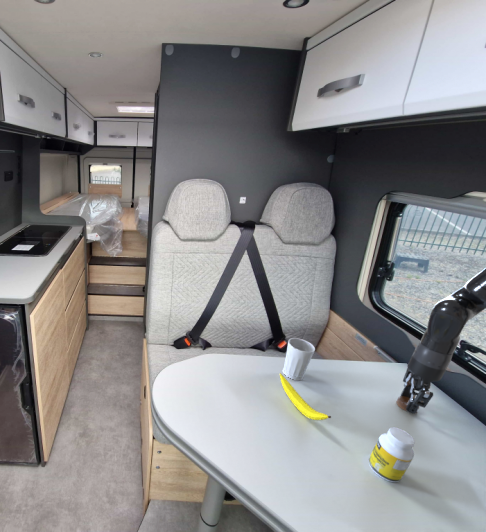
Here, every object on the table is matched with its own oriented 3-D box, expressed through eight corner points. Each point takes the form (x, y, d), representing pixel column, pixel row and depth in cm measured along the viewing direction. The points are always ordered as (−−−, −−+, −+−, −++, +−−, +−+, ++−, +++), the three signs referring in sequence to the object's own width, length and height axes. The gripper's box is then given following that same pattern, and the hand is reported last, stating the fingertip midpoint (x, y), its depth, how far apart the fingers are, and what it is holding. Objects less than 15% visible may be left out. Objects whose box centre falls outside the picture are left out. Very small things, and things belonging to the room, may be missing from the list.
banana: (280, 384, 101) (284, 368, 99) (328, 433, 84) (335, 416, 82) (272, 385, 100) (277, 369, 98) (319, 435, 83) (326, 417, 81)
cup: (282, 363, 111) (290, 335, 107) (306, 372, 107) (316, 344, 103) (277, 375, 105) (286, 345, 101) (303, 385, 101) (313, 355, 97)
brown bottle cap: (414, 404, 96) (416, 400, 95) (419, 415, 92) (421, 410, 91) (394, 398, 98) (396, 393, 98) (398, 408, 94) (400, 404, 93)
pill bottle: (365, 453, 79) (381, 419, 75) (396, 465, 76) (414, 430, 72) (370, 475, 73) (388, 440, 69) (404, 489, 71) (424, 453, 67)
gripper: (457, 379, 81) (430, 427, 87) (437, 351, 93) (415, 394, 99) (421, 369, 84) (398, 415, 90) (406, 343, 96) (387, 385, 102)
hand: (407, 404), depth 95 cm, fingers open, 5 cm apart
